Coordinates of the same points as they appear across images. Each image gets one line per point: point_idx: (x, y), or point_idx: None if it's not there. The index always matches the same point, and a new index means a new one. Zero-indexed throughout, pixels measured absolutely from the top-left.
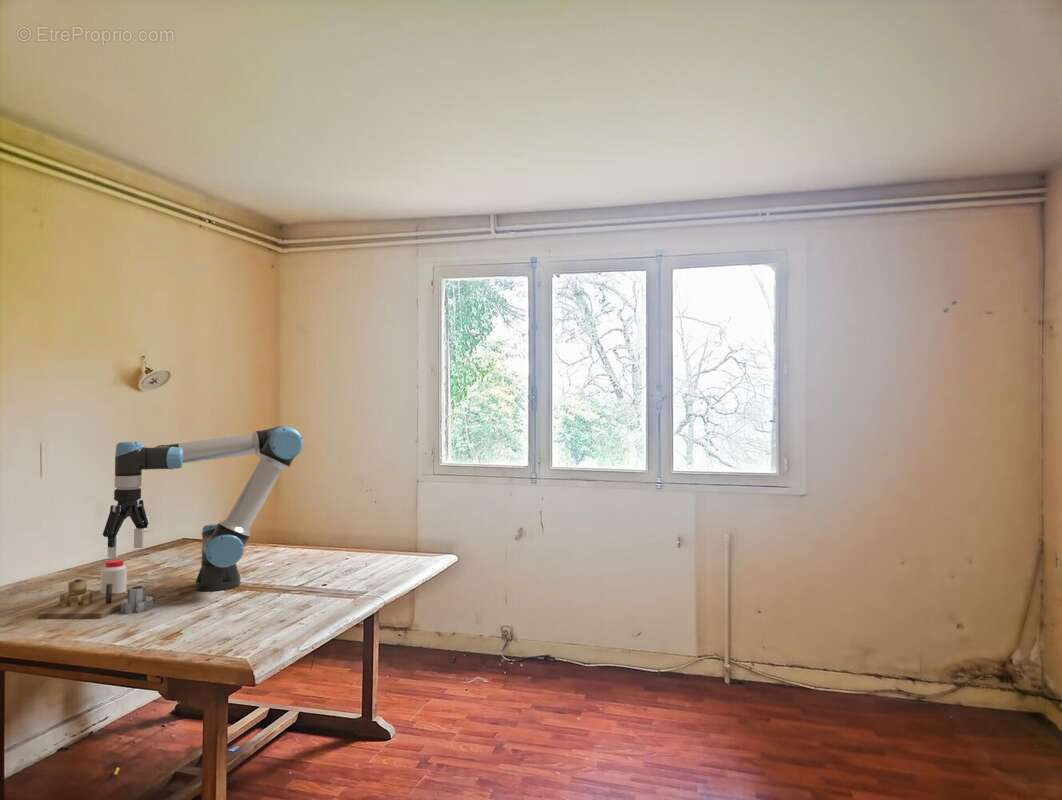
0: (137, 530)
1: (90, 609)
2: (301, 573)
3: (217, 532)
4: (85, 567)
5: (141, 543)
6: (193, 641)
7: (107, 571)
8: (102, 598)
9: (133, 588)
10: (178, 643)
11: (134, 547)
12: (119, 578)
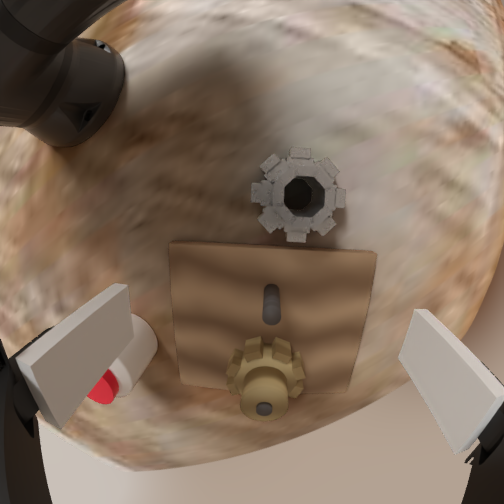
0: (56, 398)
1: (335, 304)
2: None
3: None
4: None
5: (110, 302)
6: (473, 28)
7: (132, 379)
8: (225, 328)
9: (294, 215)
10: (485, 47)
11: (131, 334)
12: None
